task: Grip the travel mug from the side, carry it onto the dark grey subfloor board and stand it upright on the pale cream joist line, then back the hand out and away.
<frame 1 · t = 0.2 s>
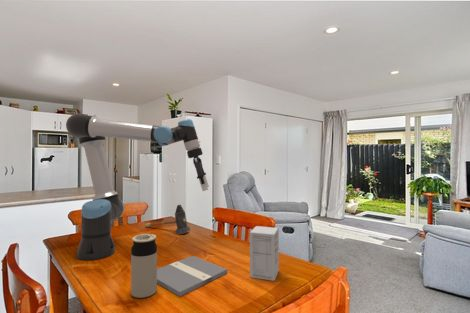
hand: (205, 188, 134), 27 cm above the table, tool tilted 15°, fingers open, 13 cm apart
hammer: (165, 230, 155), on the table
subfloor board: (187, 275, 98), on the table
supplement box: (264, 274, 99), on the table
travel mug: (144, 292, 85), on the table
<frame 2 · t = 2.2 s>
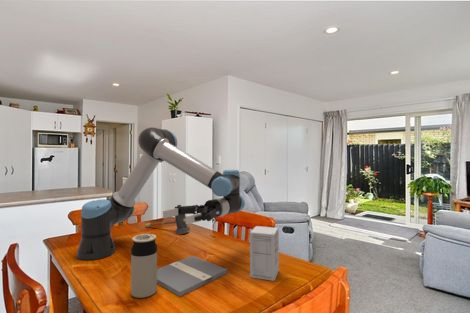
hand: (174, 217, 94), 22 cm above the table, tool horizontal, fingers open, 13 cm apart
nothing on the table moved.
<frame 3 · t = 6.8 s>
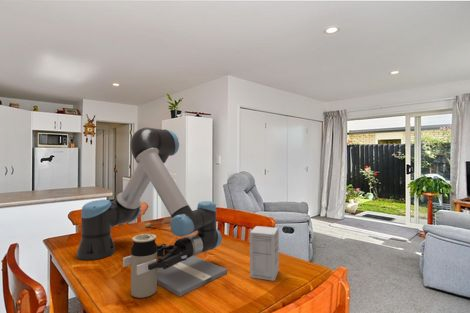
hand: (130, 266, 82), 10 cm above the table, tool horizontal, fingers closed on travel mug, 8 cm apart
travel mug: (144, 292, 85), on the table, touching gripper
everything else where it was.
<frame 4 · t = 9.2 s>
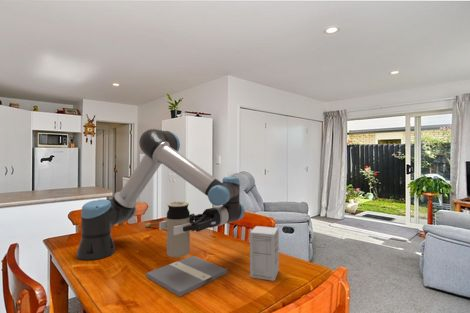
hand: (166, 228, 90), 19 cm above the table, tool horizontal, fingers closed on travel mug, 8 cm apart
travel mug: (178, 254, 94), point 9 cm above the table, touching gripper
everything else where it was.
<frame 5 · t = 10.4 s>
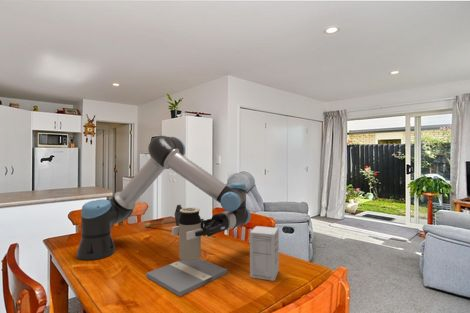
hand: (179, 233, 95), 16 cm above the table, tool horizontal, fingers closed on travel mug, 8 cm apart
travel mug: (190, 257, 98), point 6 cm above the table, touching gripper
everything else where it was.
when the fingers open (13 cm above the table, at t = 11.9 s): travel mug drops 1 cm, resting on subfloor board.
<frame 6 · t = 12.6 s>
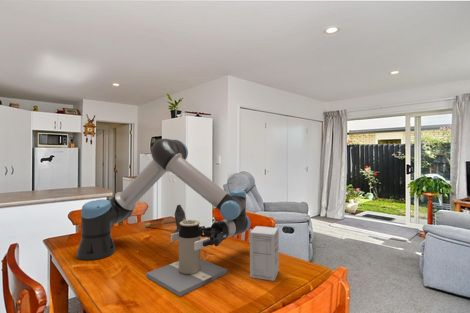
hand: (182, 241, 96), 13 cm above the table, tool horizontal, fingers open, 13 cm apart
travel mug: (189, 270, 98), point 1 cm above the table, touching subfloor board
everything else where it was.
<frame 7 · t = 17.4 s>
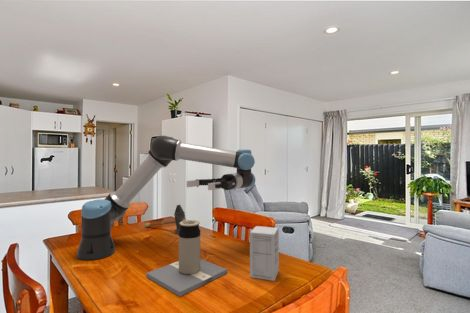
hand: (197, 185, 110), 32 cm above the table, tool horizontal, fingers open, 13 cm apart
nothing on the table moved.
at the end: travel mug inside the target area on the subfloor board (0.1 cm from its centre), point 1.3 cm above the subfloor board's base; travel mug tilted 0°; the gripper is holding nothing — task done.
